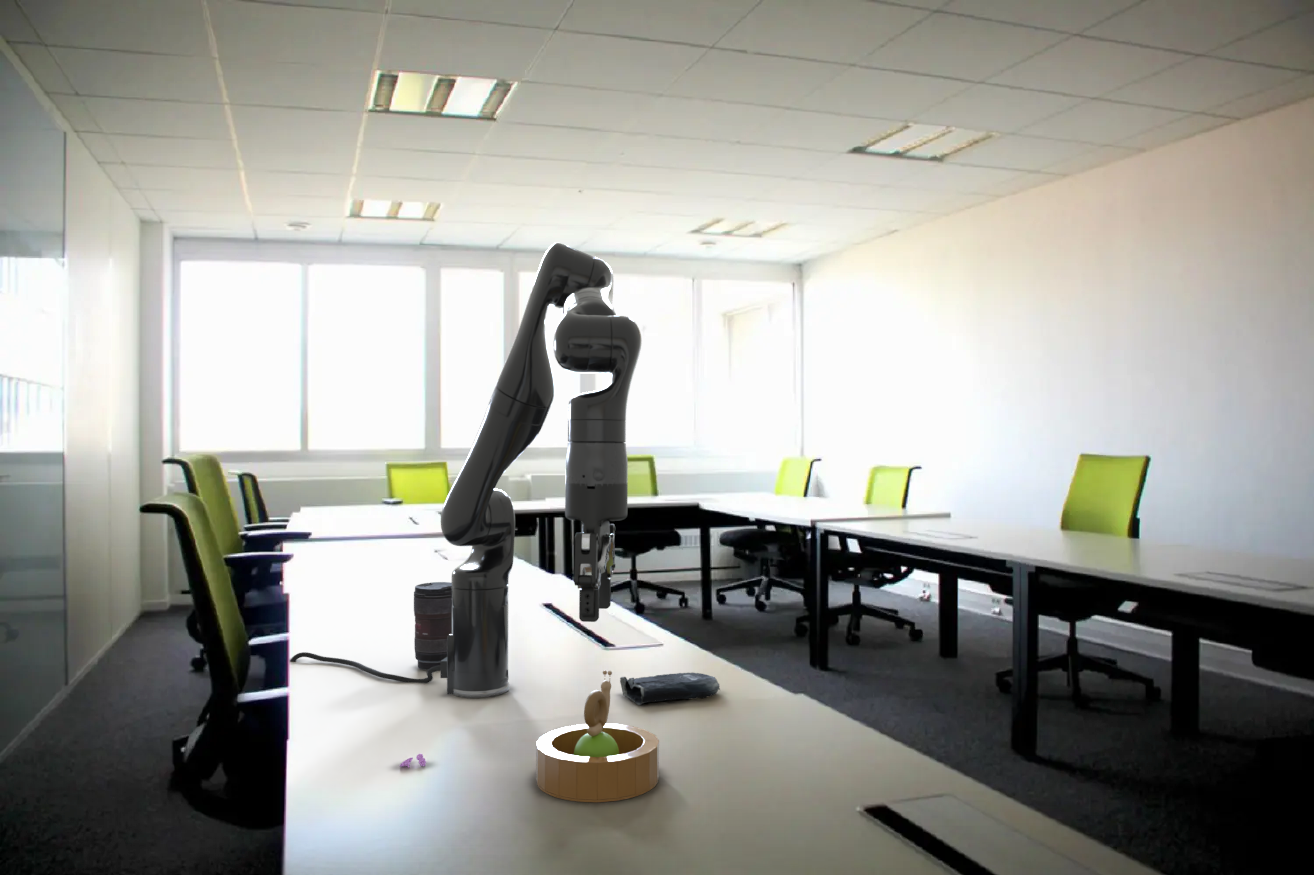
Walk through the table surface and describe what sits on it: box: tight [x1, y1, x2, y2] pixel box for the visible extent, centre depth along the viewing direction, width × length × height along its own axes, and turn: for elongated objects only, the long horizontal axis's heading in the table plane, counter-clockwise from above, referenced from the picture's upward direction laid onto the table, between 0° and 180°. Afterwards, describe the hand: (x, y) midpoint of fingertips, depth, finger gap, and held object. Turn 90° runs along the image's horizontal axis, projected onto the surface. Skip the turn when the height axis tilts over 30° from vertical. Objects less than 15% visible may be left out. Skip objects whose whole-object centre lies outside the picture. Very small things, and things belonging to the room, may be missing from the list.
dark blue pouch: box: [619, 672, 721, 706], centre depth 147 cm, size 9×6×15 cm
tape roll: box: [535, 723, 660, 803], centre depth 109 cm, size 15×15×4 cm
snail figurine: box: [574, 670, 619, 757], centre depth 109 cm, size 5×6×12 cm
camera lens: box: [413, 581, 452, 671], centre depth 167 cm, size 8×8×15 cm
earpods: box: [399, 753, 427, 769], centre depth 114 cm, size 3×2×2 cm
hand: (595, 614), depth 110 cm, fingers open, 8 cm apart
